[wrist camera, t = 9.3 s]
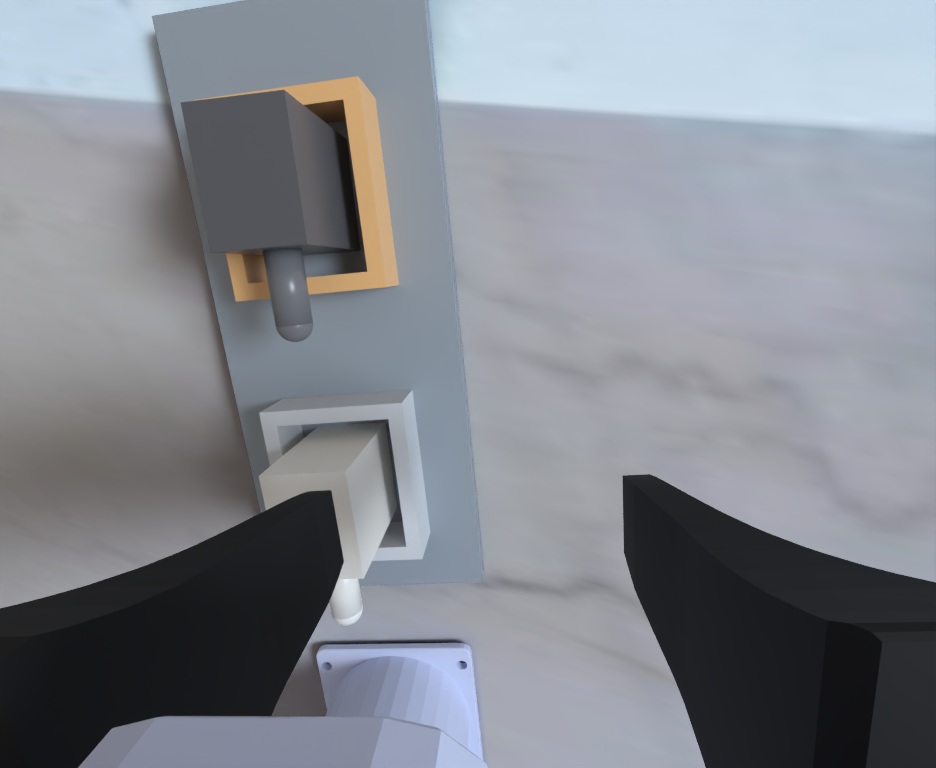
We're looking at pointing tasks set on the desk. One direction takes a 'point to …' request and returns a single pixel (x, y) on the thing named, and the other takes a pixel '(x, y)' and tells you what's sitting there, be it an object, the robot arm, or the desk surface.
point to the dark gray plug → (273, 191)
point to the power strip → (349, 289)
